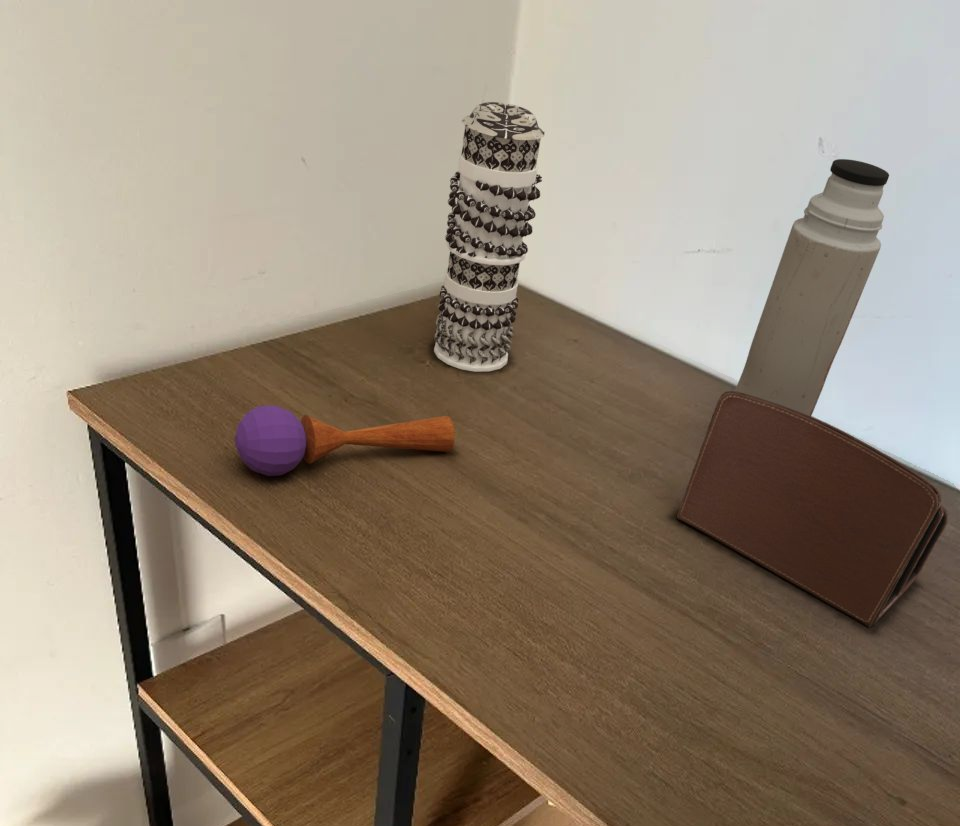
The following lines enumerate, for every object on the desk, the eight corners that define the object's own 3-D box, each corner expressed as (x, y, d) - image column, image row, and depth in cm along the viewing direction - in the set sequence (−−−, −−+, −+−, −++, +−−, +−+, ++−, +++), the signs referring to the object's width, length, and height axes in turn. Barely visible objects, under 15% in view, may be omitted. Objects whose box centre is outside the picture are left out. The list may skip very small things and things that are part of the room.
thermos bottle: (794, 442, 103) (907, 165, 85) (791, 478, 98) (912, 188, 79) (721, 423, 104) (817, 144, 86) (714, 457, 98) (815, 166, 80)
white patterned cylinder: (527, 358, 110) (572, 117, 93) (477, 381, 104) (516, 128, 87) (465, 329, 113) (498, 91, 97) (414, 349, 107) (439, 100, 91)
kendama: (467, 430, 87) (249, 438, 78) (450, 479, 92) (242, 492, 83) (443, 388, 90) (231, 391, 81) (427, 437, 95) (224, 445, 86)
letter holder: (870, 630, 80) (949, 487, 71) (673, 519, 89) (720, 378, 79) (915, 583, 86) (992, 446, 77) (726, 484, 95) (776, 349, 86)
